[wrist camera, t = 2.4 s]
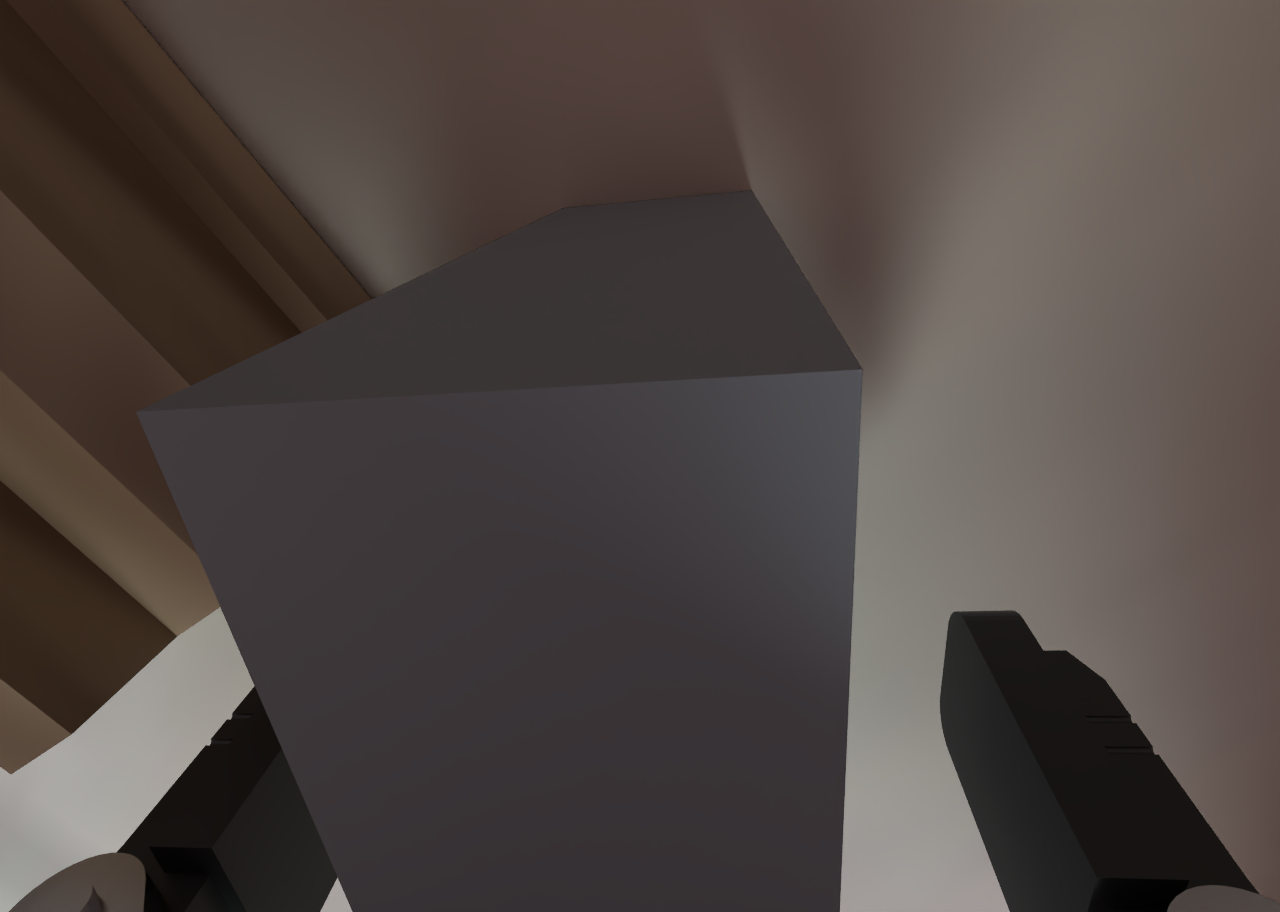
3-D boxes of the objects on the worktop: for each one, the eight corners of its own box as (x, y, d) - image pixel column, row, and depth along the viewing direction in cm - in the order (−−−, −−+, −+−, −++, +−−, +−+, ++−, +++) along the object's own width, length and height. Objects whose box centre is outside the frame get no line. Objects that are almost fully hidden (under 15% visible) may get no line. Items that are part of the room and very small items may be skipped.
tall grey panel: (750, 190, 11) (862, 371, 3) (765, 748, 16) (818, 1411, 8) (551, 209, 11) (96, 414, 3) (627, 747, 16) (536, 1372, 8)
